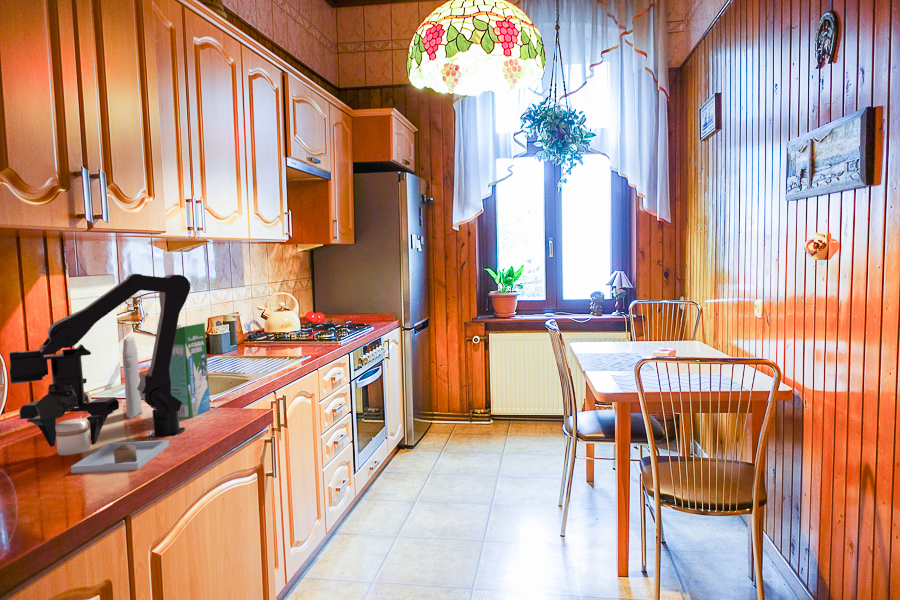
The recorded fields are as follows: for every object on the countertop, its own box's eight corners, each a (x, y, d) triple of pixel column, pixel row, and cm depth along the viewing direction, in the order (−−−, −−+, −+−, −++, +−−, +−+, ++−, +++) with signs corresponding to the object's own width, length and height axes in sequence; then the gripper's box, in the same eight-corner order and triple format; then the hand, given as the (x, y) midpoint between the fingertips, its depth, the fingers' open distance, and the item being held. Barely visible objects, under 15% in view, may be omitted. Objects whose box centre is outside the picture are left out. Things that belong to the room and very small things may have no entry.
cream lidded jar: (67, 449, 134) (65, 419, 134) (95, 447, 135) (92, 417, 134) (51, 458, 128) (48, 427, 128) (80, 456, 129) (77, 425, 128)
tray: (110, 450, 132) (109, 442, 132) (169, 447, 133) (168, 439, 133) (71, 475, 117) (70, 466, 117) (138, 471, 118) (137, 463, 118)
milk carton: (182, 408, 168) (176, 322, 167) (210, 409, 167) (204, 322, 165) (161, 417, 160) (154, 326, 158) (190, 418, 158) (184, 326, 156)
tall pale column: (138, 418, 160) (132, 338, 158) (121, 419, 159) (115, 339, 157) (146, 408, 170) (141, 333, 168) (131, 410, 169) (125, 334, 167)
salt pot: (121, 461, 123) (119, 441, 123) (140, 460, 123) (139, 441, 123) (111, 468, 119) (109, 448, 119) (131, 467, 119) (129, 447, 119)
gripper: (-2, 386, 122) (5, 459, 123) (90, 382, 123) (96, 455, 124) (33, 376, 133) (39, 443, 134) (117, 372, 134) (122, 439, 135)
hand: (73, 445), depth 131 cm, fingers open, 9 cm apart
